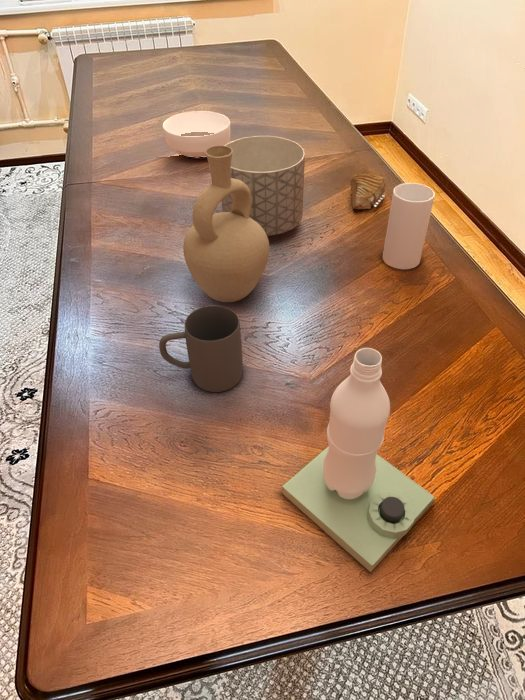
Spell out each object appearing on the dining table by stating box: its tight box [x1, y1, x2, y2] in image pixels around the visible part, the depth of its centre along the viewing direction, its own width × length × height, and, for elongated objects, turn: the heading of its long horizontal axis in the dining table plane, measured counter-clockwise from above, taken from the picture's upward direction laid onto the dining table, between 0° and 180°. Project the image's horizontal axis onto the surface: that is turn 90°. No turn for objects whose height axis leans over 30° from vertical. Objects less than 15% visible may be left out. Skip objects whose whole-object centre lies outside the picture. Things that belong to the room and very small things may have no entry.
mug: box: [158, 304, 244, 393], centre depth 90 cm, size 14×9×12 cm
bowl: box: [162, 110, 231, 159], centre depth 159 cm, size 20×20×8 cm
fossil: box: [349, 173, 387, 210], centre depth 136 cm, size 12×6×9 cm
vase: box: [182, 146, 270, 303], centre depth 101 cm, size 17×17×30 cm
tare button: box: [380, 497, 405, 523], centre depth 71 cm, size 3×3×2 cm
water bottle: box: [323, 347, 391, 499], centre depth 68 cm, size 7×7×25 cm
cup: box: [382, 182, 436, 270], centre depth 114 cm, size 8×8×16 cm
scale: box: [281, 445, 436, 573], centre depth 75 cm, size 16×14×4 cm
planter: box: [221, 135, 306, 237], centre depth 124 cm, size 19×19×18 cm
